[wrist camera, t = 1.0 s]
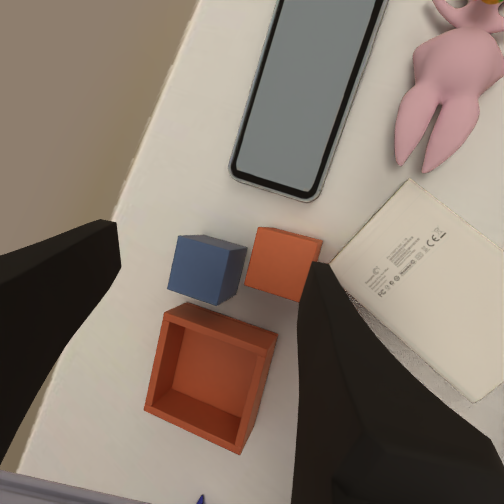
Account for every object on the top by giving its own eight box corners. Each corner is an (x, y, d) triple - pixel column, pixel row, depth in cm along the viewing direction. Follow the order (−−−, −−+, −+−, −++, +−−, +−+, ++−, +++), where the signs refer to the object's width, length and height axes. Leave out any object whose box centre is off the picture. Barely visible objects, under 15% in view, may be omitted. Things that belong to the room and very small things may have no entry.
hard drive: (464, 393, 21) (324, 268, 24) (570, 308, 20) (406, 180, 22) (473, 406, 20) (322, 271, 22) (589, 315, 18) (411, 176, 20)
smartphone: (223, 176, 25) (287, -38, 22) (228, 178, 25) (289, -28, 23) (315, 205, 23) (397, -25, 20) (316, 206, 24) (394, -14, 21)
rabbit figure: (446, -45, 21) (357, 162, 21) (492, -167, 15) (369, 118, 16) (552, -29, 20) (455, 194, 20) (645, -157, 14) (508, 159, 14)
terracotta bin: (253, 427, 26) (239, 455, 23) (167, 389, 28) (143, 410, 25) (278, 333, 25) (267, 349, 22) (186, 301, 27) (164, 311, 24)
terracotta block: (309, 291, 24) (301, 303, 20) (259, 276, 25) (243, 285, 21) (323, 240, 23) (318, 242, 20) (271, 227, 25) (257, 226, 21)
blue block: (236, 295, 26) (216, 306, 22) (192, 280, 27) (166, 289, 23) (247, 247, 25) (229, 250, 21) (202, 234, 26) (178, 235, 22)
